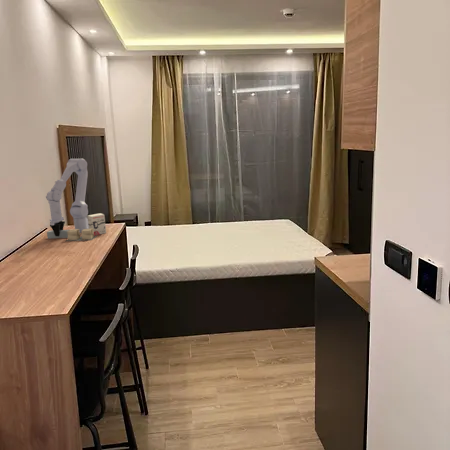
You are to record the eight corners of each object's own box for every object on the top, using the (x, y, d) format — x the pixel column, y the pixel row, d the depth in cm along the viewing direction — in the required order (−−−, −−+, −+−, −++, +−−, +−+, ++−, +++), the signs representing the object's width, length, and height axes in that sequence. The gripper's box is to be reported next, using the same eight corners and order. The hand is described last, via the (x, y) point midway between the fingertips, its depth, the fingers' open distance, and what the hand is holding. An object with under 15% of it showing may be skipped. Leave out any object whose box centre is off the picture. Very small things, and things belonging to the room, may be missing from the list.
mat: (72, 237, 249) (72, 236, 249) (97, 236, 249) (97, 235, 249) (64, 242, 239) (64, 241, 238) (91, 240, 238) (91, 240, 238)
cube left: (71, 238, 246) (70, 229, 245) (80, 237, 246) (79, 229, 245) (68, 240, 241) (67, 231, 240) (77, 239, 241) (76, 231, 240)
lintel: (47, 238, 248) (46, 232, 247) (50, 237, 252) (49, 230, 251) (68, 237, 247) (67, 231, 247) (70, 236, 251) (70, 229, 250)
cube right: (85, 237, 245) (84, 228, 244) (94, 237, 245) (93, 228, 244) (82, 239, 241) (81, 230, 240) (91, 239, 240) (90, 230, 239)
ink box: (93, 236, 249) (91, 216, 247) (89, 235, 253) (87, 215, 250) (106, 233, 255) (104, 213, 252) (102, 232, 258) (100, 213, 256)
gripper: (54, 210, 254) (57, 232, 256) (43, 214, 239) (46, 238, 242) (66, 209, 253) (69, 232, 256) (56, 214, 239) (59, 237, 242)
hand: (59, 235), depth 249 cm, fingers closed on lintel, 4 cm apart
